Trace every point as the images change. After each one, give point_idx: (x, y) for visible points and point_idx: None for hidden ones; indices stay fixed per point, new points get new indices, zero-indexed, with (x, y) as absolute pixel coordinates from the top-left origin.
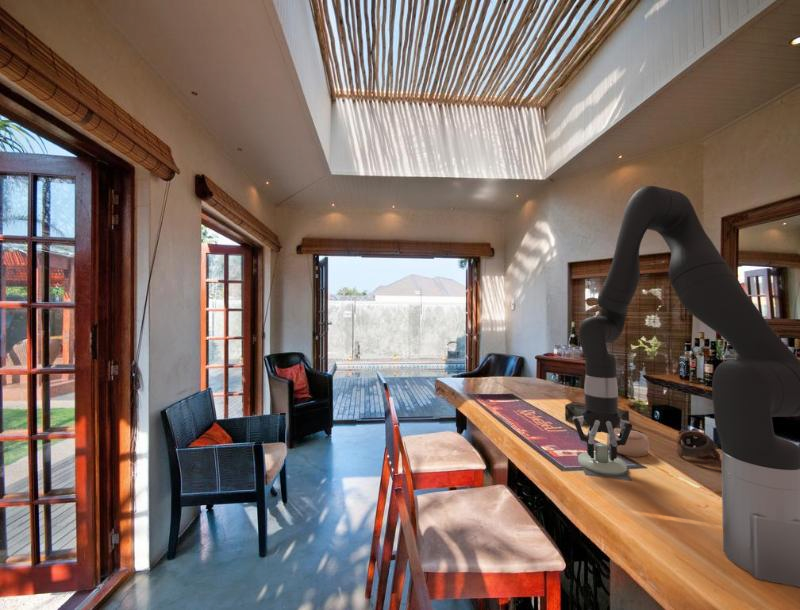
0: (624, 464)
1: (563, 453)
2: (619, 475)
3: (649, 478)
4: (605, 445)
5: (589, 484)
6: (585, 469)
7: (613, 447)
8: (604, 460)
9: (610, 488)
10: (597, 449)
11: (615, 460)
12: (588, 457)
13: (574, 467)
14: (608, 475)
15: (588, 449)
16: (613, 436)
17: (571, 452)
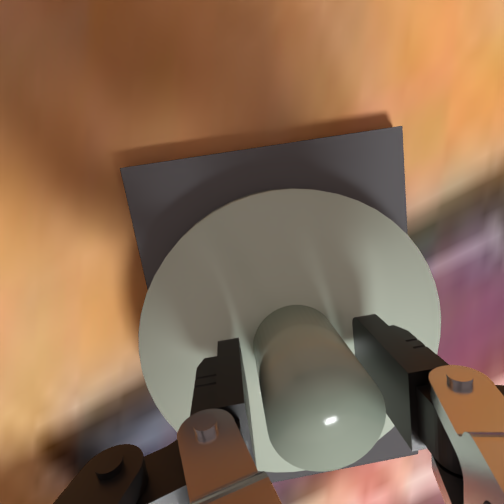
0: (153, 348)
1: None
2: (194, 216)
3: (27, 297)
4: (290, 434)
5: (379, 20)
6: (392, 210)
7: (220, 402)
8: (283, 316)
9: (257, 20)
10: (355, 360)
11: None
12: None
13: (441, 245)
14: (260, 183)
15: (421, 348)
16: (218, 500)
17: None
